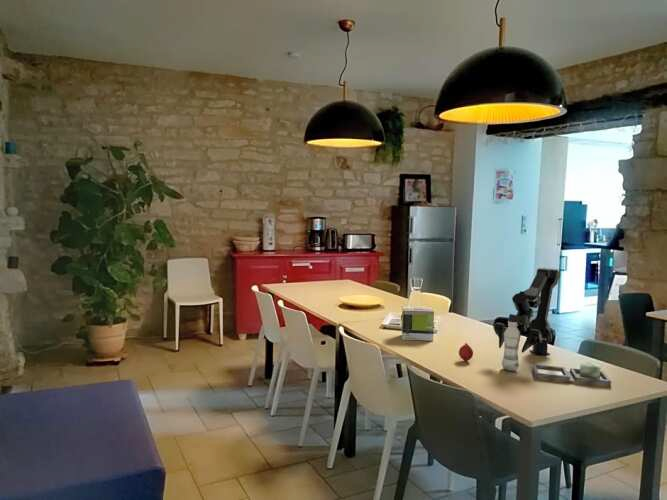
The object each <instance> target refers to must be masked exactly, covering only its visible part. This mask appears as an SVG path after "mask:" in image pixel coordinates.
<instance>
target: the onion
mask: <svg viewBox="0 0 667 500" xmlns="http://www.w3.org/2000/svg"><path fill="white" fill-rule="evenodd" d="M458 355H459V357H460V359H462V361H464V362H469V361H470V360H472V358H473V356H474V351H473V348H472V347H471V346H470V345H469V343H467V342H465V343H464V344H463V345H462V346H461V347H459V351H458Z"/></svg>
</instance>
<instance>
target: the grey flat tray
mask: <svg viewBox="0 0 667 500" xmlns="http://www.w3.org/2000/svg"><path fill="white" fill-rule="evenodd" d="M531 368H532V369H531V371H532V373H533V377H534V379H535V380H537V381H546V382H557V383H562V384H563V383H565V384H575V385H583V386H591V387H592V386H595V387H602V388H610V389H611V388H612V380H611V379H610V378H609V377H608V375H607V374H606V373H605V371H604V370H601V368H602V366H601V365H600V364H598V363H594V362H585V361H584V362H581V363H580V365H579V368H576V367H575V368H574V367H569V371H567V368H566V367H564V366H554V365H545V364H536V363H535V364H534V363H533V364H532V367H531Z"/></svg>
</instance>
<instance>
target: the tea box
mask: <svg viewBox="0 0 667 500" xmlns="http://www.w3.org/2000/svg"><path fill="white" fill-rule="evenodd" d="M401 312H402V313H401V338H402V340H403V341H404V340H406V341H427V342H429V341H431V342H433V341H434V328H435V327H434V322H435V320H434V319H435V311H434V310H433V307H417V306H414V307H413V306H410V307H409V306H403V307H402V309H401Z"/></svg>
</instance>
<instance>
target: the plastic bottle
mask: <svg viewBox="0 0 667 500" xmlns="http://www.w3.org/2000/svg"><path fill="white" fill-rule="evenodd" d="M507 326H508V327H506V328H507V329H506V330H505V332H504V342H503V344H504V348H503V349H504V351H503V357H502V361H501V366H502V368H503V370H505V371H508V372H515V371H518V369H519V366H520V364H519V362H520V361H519V345H520V341H521V335H520V332H519V330H518V329H517V327H518V322H509V321H508V320H507Z"/></svg>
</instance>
